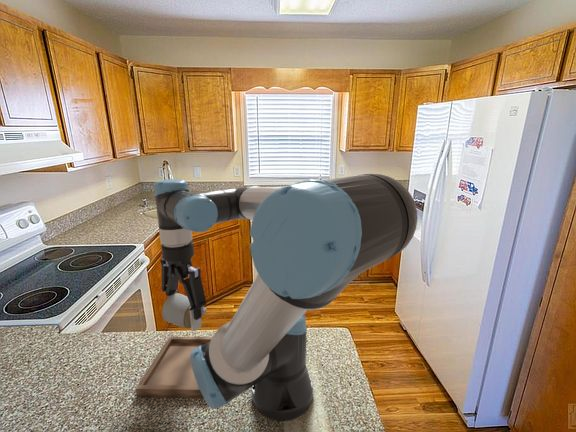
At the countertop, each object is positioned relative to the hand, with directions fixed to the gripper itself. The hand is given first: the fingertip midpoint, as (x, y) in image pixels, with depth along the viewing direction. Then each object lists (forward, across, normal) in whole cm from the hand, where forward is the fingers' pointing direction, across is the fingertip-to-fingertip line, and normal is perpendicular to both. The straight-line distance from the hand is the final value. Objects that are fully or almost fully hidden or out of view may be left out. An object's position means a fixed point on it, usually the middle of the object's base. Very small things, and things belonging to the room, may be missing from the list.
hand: (185, 322), depth 78 cm
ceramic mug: (0, +1, -1) cm, 1 cm away
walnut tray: (+14, 0, 0) cm, 14 cm away
